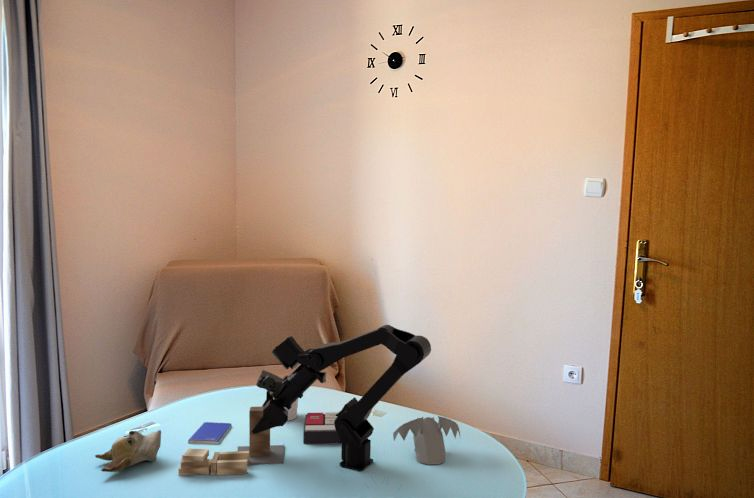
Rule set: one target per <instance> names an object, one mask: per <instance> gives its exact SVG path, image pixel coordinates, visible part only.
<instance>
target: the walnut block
mask: <svg viewBox="0 0 754 498" xmlns="http://www.w3.org/2000/svg"><path fill="white" fill-rule="evenodd" d="M263 408H264V407H262V406H250V407H249V413H248V414H249V417H248V418H249V421H248V422H249V425H248V426H249V427H248V428H249V431H248V432H249V435H248V436H249V437H248V438H249V439H248V440H249V445H248V446H249V457H259V456H270V445H271V429H268V430H265V431H262V432H259V433H257V434H253V433H252V429H253V428H254V427H255V425H256V424H257V423H258V421H259V420H260V418H261V417H262V416H263Z"/></svg>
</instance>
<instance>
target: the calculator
mask: <svg viewBox="0 0 754 498" xmlns="http://www.w3.org/2000/svg"><path fill="white" fill-rule="evenodd" d="M338 412H339V411H338ZM338 412H337V411H335V412H325V413H324V412H306V414H305V416H304V417H305V418H304V423H303V436H302V437H303V439H302V441H303V445H331V444H337V445H342V444H341V441H340V438H339V434H338V433H337V431H336V429H335V424H334V422H335V419H336V418H337V416H336V414H337V413H338Z"/></svg>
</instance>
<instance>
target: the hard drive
mask: <svg viewBox="0 0 754 498" xmlns="http://www.w3.org/2000/svg"><path fill="white" fill-rule="evenodd" d="M231 428H232V423H231V422H230V423H229V422H211V421H204V422H203V423H202V424H201V425H200V427H199V428H198V429H196V431H195V432H194V433H193V434H192V435H191V437H189V438H188V440H187V444H198V445H200V444H201V445H202V444H204V445H219V444H220V442H221V441H222V439H223V438H224V437H225V436H226V434H227V433H228V432H229V430H230V429H231Z"/></svg>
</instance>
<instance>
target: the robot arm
mask: <svg viewBox="0 0 754 498" xmlns="http://www.w3.org/2000/svg"><path fill="white" fill-rule="evenodd" d="M380 345H382V346H384V347H385V348H387V349H388V350H389V351H390V352H391V353H392V354H394V355H395V357H394V359H393V362H392V363H391V365H390V366H389V367H388V368H387V370H385V371H384V372H383V374H382V375H380V377H379V378H378V379H377V380H376V381H375V383H374V384H373V385H371V386H370V388H368V390H367V391H366V392H365V393H364V394H363V396H362V397H360V399H359V400H357V397H353V398H352V399H350V400H349V401H348V402H347V403H346V404H344V406H343V407H342V409H341V410H339V411H338V413H337V414H336V416H337V418H336V419H335V422H334V424H335V429H336V431H337V433H338V434H339V438H340V441H341V444H340V445H341V449H340V450H341V452H340V454H341V456H340V457H341V462H339V466H340V467H345V468H348V469H351V470H355V471H359V472H362V471H364V470H365V469H366V468H367V467H369V465H371V464H372V463H374V458H371V448H372V447H371V442H372V441H371V439H370V437H371V436H372V435H373V432H374V429H375V428H374V426H373V425H372V424H371V422H370V421H369V420H368V418H369V417H370V415H371V412H372V410H373V409H374V408H375V406H376V405H377V404H378V403H379V402H380V401H381V400H382V399H383V397H384V396H385V395H387V393H388V392H389V391H390V390H391V389H392V388H393V387H394V386H395V385H396V383H398V382H399V380H400V379H402V377H403V376H404V375H406V374H407V373H408V372H409V371H410V370H412V369H414V368H415V367H416V366H417V365H419V364H420V363H421V362H423V360H425V359H427V357H428V356H429V355H430V354H431V351H432V345H431V342H430V341H429V339H428V338H427V337H425V336H423V335H417V334H416V335H415V334H413V333H411V332H410V331H406V330H403V329H399V328H396V327H394V326H392V325H390V324H384V325H382V326H380V327H378V328H375V329H373V330H371V331H368V332H364V333H362V334H360V335H356V336H355V337H352V338H349V339H346V340H343V341H331V342H326V343H323V344H320V345H319V346H317V347H315V348H308V349H306V350H304V349H303V348H302V347H301V345H300V344H298V342H297V341H296V339H295V338H294V337H293V335H291V336H288V337H286V338H285V340H283V341H282V342H280V344H279V345H277V346H275V347H274V348H273V350H272V351H271V354H272V355H273V356H274V357H275V358H276V359H277V361H278V362H279V363H280V365H282V366H283V367H284V369H285V370H289V369H291V370H294V371H292V372H291V373H290V374H289V375H288V374H287V375H284V376H283V377H282V378H281V377H280V376H278V375H276V374H274V373H272V372H269V371H267V370H265V369H264V370H263V369H262V370H261V372H260V374H259V376H258V379H256V386H257V387H258V388H260V389H263V390H266V399H265V400H264V401H263V404H262V405H261V407H264V408H263V416H262V417H261V418H260V420H259V421H258V423H257V424H256V425H255V427H254V428H253V429H252V433H253V434H257V433H259V432H262V431H265V430H268V429H270V430H271V429H273V428H277V427H284V426H285V425H286V423H288V422H289V420H288V411H287V410H286V409H285V408H284V407H286V408H287V409H288V410H289V409H290V408H291V407H292V404H293V403H294V402H295V401H296V400H297V399H298V400H299V399H302V398H303V397H304V393H305V392H306V391H307V390H309V388H311V387H312V385H314V383H315V382H316V381H317V380H318V381H319V383H320V384H325V383H326V381H327V380H326V379H327V372H326V371H324V370H326V369H328V367H330V366H332V365H333V364H335V363H337V362H339V361H340V360H342V359H344V358H346V357H349V356H352V355H354V354H357V353H361V352H363V351H366V350H369V349H371V348H374V347H377V346H380Z"/></svg>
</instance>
